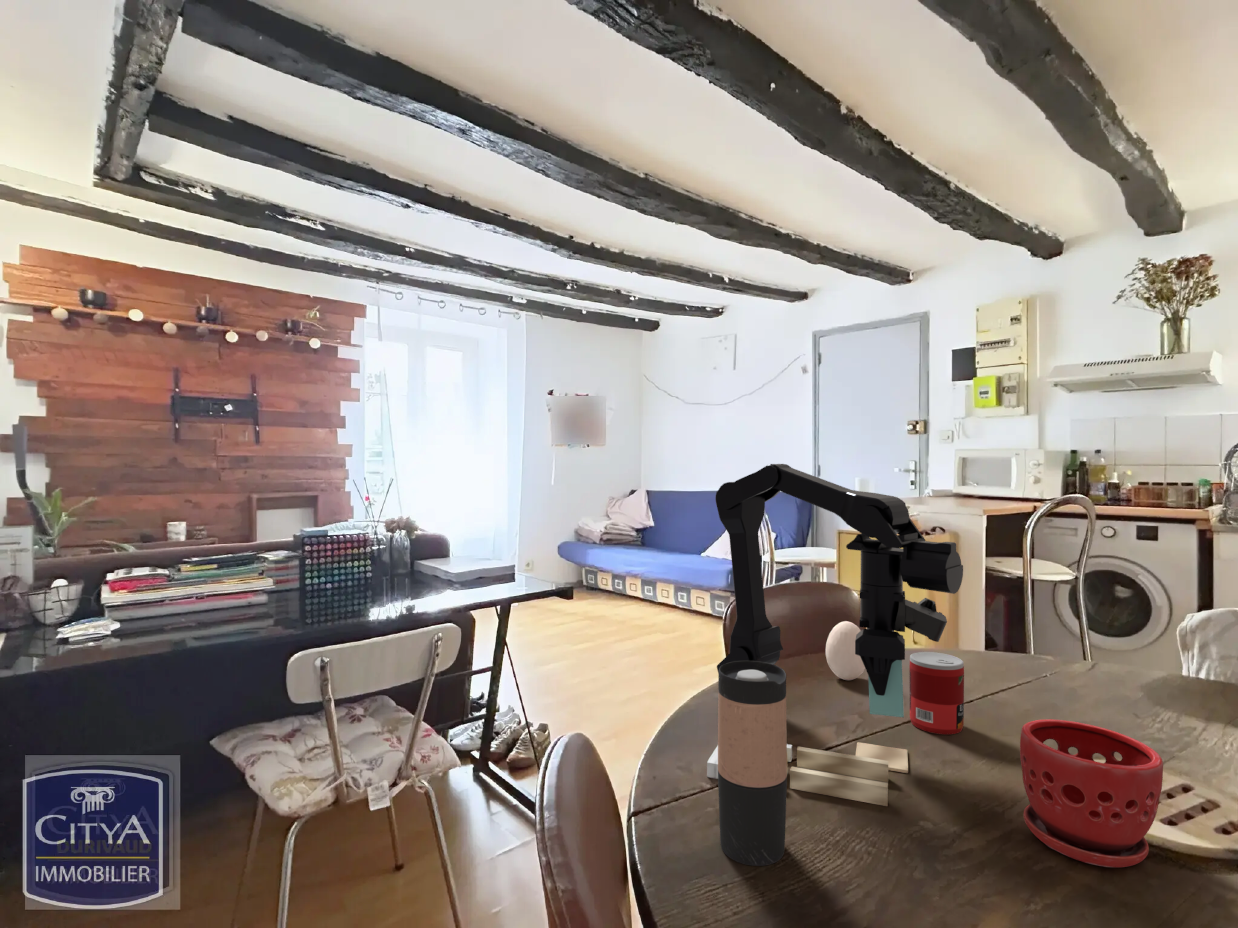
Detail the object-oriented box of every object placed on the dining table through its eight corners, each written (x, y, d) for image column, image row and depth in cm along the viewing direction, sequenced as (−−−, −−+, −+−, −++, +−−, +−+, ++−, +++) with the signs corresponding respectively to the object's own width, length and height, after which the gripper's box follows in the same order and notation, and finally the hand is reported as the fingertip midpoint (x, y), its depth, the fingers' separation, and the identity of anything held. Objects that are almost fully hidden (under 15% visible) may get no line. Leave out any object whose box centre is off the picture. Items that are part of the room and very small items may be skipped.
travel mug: (711, 829, 79) (710, 660, 78) (774, 826, 79) (774, 659, 79) (727, 869, 71) (726, 683, 71) (797, 865, 72) (797, 680, 71)
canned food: (970, 737, 104) (970, 667, 104) (915, 733, 106) (915, 664, 105) (955, 718, 111) (955, 652, 111) (904, 714, 113) (905, 650, 113)
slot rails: (790, 788, 88) (790, 770, 88) (798, 762, 95) (798, 746, 95) (887, 806, 84) (887, 787, 84) (888, 778, 91) (888, 760, 91)
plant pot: (1114, 894, 67) (1115, 775, 67) (994, 827, 79) (994, 726, 79) (1189, 862, 72) (1190, 752, 72) (1065, 804, 84) (1066, 709, 84)
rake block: (869, 713, 95) (867, 651, 95) (870, 703, 99) (868, 643, 99) (903, 717, 94) (901, 653, 94) (903, 707, 97) (901, 645, 97)
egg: (838, 670, 136) (838, 614, 136) (875, 679, 131) (875, 621, 130) (817, 679, 131) (817, 621, 131) (855, 689, 125) (855, 628, 125)
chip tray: (707, 776, 91) (707, 762, 91) (724, 747, 101) (724, 733, 101) (781, 790, 88) (781, 775, 88) (792, 758, 97) (792, 744, 97)
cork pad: (854, 764, 95) (854, 761, 95) (857, 744, 101) (857, 741, 101) (908, 773, 92) (908, 770, 92) (907, 752, 99) (907, 749, 99)
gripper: (947, 600, 85) (946, 722, 85) (939, 575, 102) (938, 677, 102) (855, 593, 89) (854, 709, 89) (861, 570, 106) (861, 668, 107)
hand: (880, 689), depth 97 cm, fingers closed on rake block, 4 cm apart
